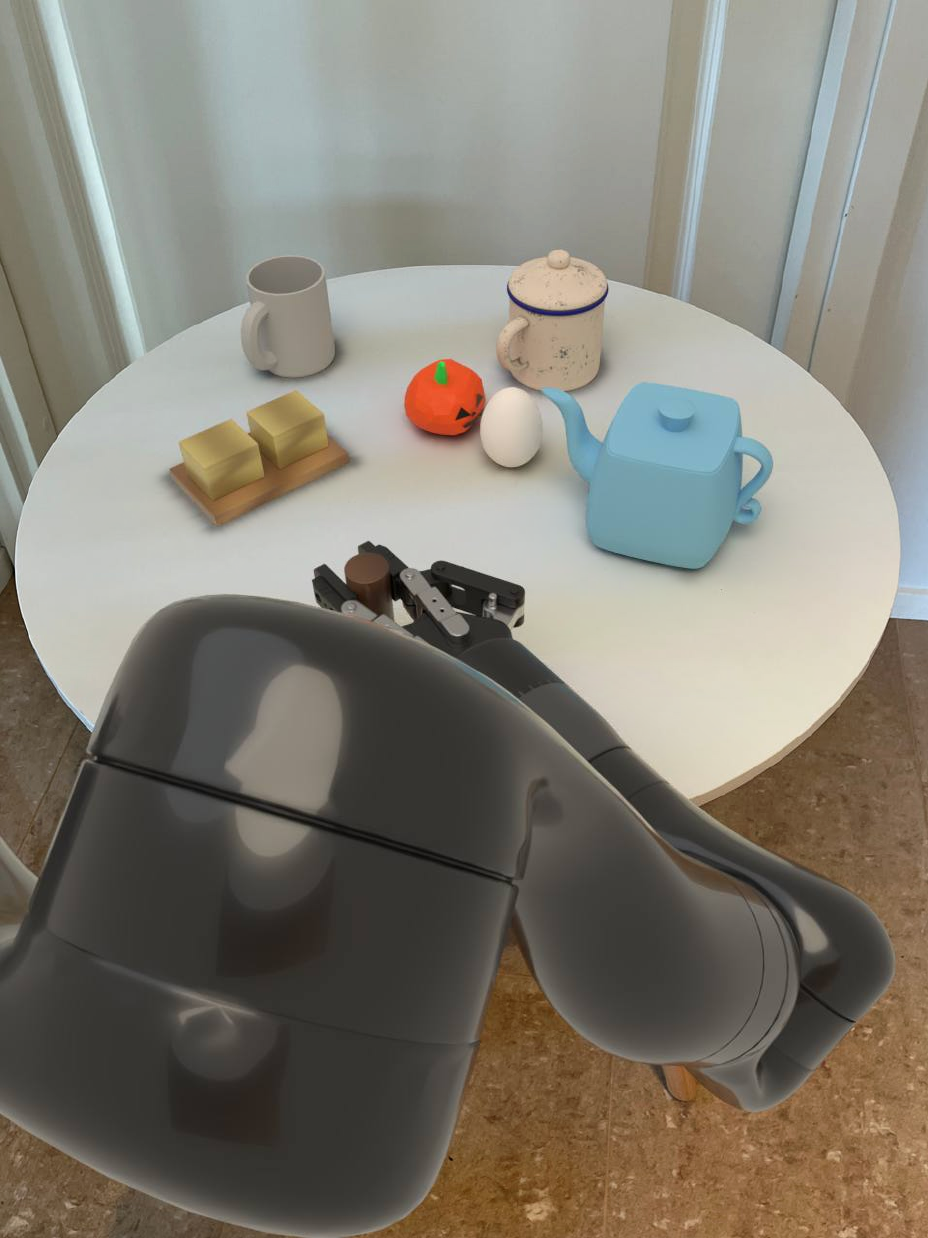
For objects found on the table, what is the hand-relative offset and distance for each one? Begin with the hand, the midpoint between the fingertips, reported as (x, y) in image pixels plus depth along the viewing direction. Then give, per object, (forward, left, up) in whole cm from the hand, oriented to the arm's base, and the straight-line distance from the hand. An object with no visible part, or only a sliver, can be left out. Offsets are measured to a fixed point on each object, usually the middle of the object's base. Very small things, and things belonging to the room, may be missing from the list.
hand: (342, 565), depth 64 cm
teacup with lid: (+41, +8, -13) cm, 44 cm away
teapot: (+27, -9, -13) cm, 31 cm away
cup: (+30, +30, -13) cm, 45 cm away
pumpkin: (+30, +12, -13) cm, 35 cm away
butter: (+16, +22, -13) cm, 30 cm away
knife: (-1, -3, -13) cm, 13 cm away
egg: (+28, +4, -13) cm, 31 cm away
